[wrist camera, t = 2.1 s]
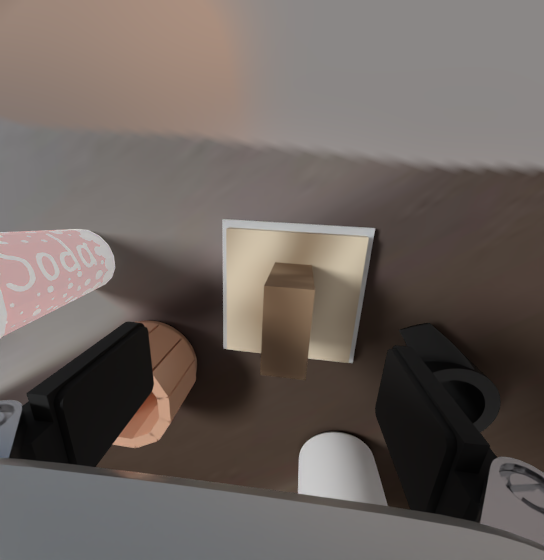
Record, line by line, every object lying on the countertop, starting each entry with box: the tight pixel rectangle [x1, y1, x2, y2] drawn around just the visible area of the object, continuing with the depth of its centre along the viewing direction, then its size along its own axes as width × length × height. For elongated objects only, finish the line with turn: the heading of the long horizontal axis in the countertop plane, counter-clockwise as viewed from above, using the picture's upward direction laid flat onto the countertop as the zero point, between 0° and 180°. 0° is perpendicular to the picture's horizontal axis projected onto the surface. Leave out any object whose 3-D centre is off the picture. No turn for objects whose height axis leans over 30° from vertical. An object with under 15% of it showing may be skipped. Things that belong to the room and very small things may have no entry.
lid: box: [226, 227, 369, 380], centre depth 15 cm, size 9×9×6 cm
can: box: [298, 431, 388, 506], centre depth 17 cm, size 6×6×12 cm
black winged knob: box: [399, 323, 500, 432], centre depth 18 cm, size 8×10×3 cm
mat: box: [223, 219, 375, 363], centre depth 18 cm, size 10×10×1 cm
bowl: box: [113, 320, 197, 448], centre depth 19 cm, size 8×8×5 cm
